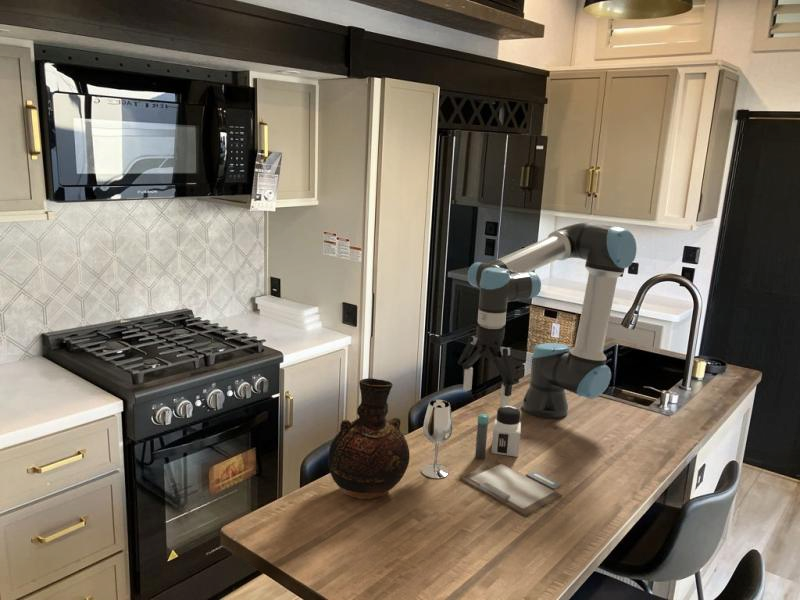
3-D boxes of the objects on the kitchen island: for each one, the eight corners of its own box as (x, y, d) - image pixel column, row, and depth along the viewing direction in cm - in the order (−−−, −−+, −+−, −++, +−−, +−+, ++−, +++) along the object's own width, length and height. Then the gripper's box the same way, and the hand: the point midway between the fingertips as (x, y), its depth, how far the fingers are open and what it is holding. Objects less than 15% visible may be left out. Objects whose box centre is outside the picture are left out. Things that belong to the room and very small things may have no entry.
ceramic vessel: (336, 517, 153) (339, 399, 146) (319, 480, 169) (321, 372, 162) (418, 503, 161) (425, 391, 153) (395, 469, 176) (400, 366, 169)
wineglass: (434, 461, 182) (438, 395, 177) (455, 472, 176) (460, 404, 171) (414, 470, 176) (418, 402, 171) (435, 482, 171) (440, 412, 166)
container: (518, 457, 186) (522, 415, 183) (491, 453, 188) (494, 412, 185) (518, 445, 194) (522, 405, 191) (492, 441, 195) (496, 402, 192)
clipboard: (496, 463, 182) (497, 458, 182) (561, 497, 167) (562, 491, 166) (459, 479, 173) (460, 474, 172) (525, 517, 157) (526, 511, 156)
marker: (479, 454, 187) (483, 412, 184) (487, 458, 185) (490, 416, 182) (472, 457, 185) (475, 415, 182) (480, 461, 183) (483, 419, 180)
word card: (534, 471, 179) (534, 470, 179) (561, 485, 172) (561, 483, 172) (526, 475, 176) (526, 474, 176) (553, 489, 170) (553, 488, 170)
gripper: (448, 316, 182) (444, 386, 187) (518, 339, 164) (511, 416, 169) (466, 312, 187) (461, 381, 192) (536, 334, 169) (529, 409, 174)
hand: (485, 397), depth 180 cm, fingers open, 13 cm apart
